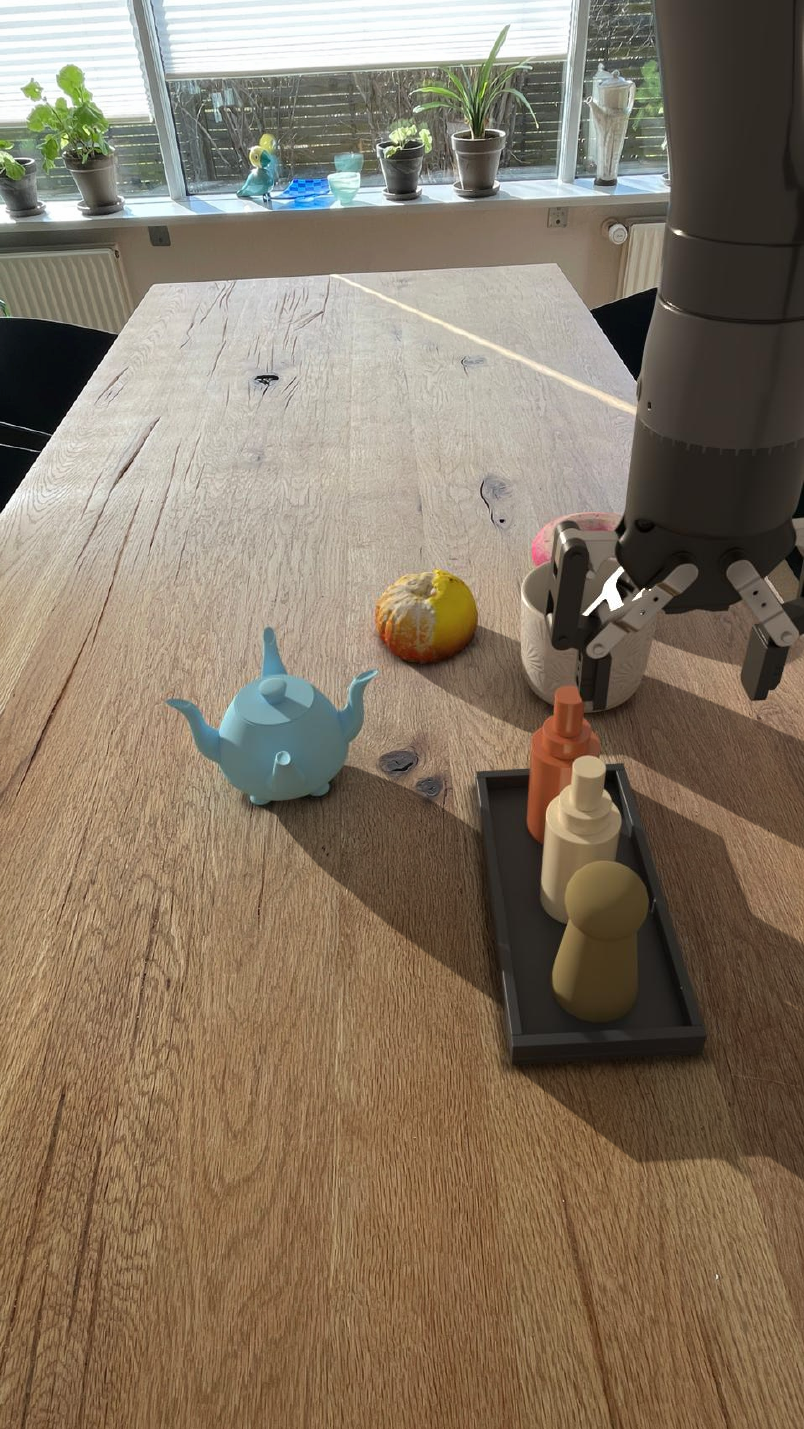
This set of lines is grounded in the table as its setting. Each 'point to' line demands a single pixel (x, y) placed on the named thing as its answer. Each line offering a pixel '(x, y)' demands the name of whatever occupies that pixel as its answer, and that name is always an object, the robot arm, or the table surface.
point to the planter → (558, 667)
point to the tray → (534, 937)
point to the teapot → (279, 732)
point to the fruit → (426, 617)
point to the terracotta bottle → (557, 755)
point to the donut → (586, 523)
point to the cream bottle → (577, 832)
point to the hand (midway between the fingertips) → (673, 696)
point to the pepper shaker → (600, 942)
